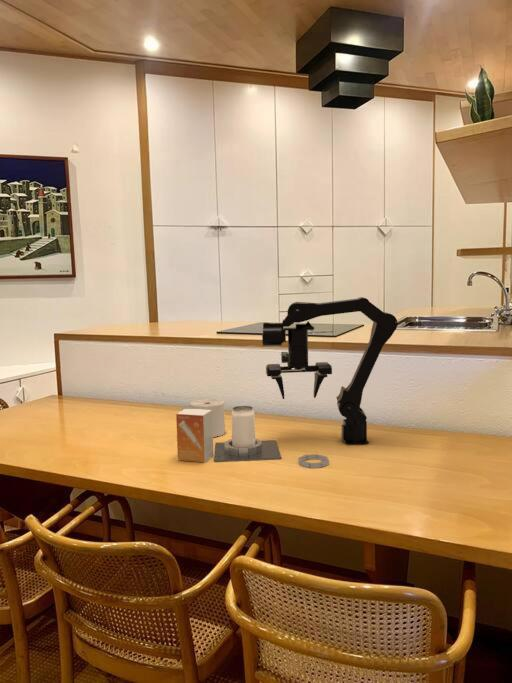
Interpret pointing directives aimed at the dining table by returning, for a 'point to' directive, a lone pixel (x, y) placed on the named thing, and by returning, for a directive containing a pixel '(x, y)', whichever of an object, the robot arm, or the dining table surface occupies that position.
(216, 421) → the toilet tissue
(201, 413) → the small box
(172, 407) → the dining table surface
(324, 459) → the ring
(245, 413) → the can
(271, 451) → the ring seat
